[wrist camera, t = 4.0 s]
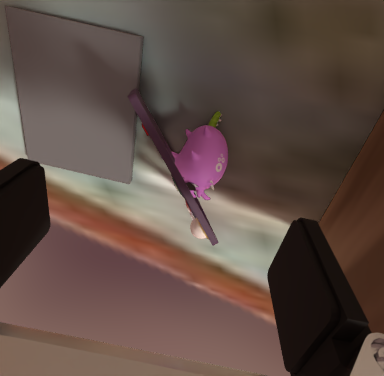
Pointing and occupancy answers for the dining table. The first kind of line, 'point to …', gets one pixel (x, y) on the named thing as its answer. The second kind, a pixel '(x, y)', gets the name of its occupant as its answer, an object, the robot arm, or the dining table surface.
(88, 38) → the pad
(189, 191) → the pink radish toy
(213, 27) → the dining table surface
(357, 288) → the screen
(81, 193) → the dining table surface
